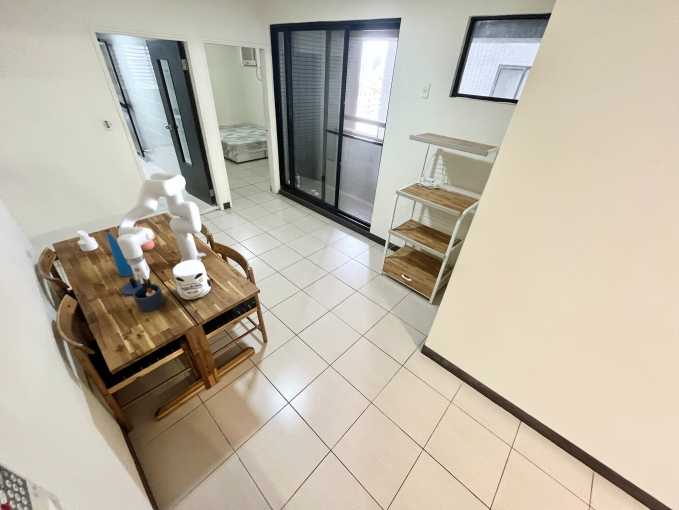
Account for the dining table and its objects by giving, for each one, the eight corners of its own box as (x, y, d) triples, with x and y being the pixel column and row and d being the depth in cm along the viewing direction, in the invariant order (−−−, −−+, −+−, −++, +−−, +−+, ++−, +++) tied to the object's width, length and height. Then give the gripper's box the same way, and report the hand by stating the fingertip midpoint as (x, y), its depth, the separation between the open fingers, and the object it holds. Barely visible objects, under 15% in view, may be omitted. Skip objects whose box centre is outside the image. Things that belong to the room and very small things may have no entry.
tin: (153, 294, 156) (147, 281, 151) (169, 299, 153) (164, 287, 148) (133, 308, 147) (127, 295, 141) (151, 314, 144) (145, 301, 139)
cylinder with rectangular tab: (100, 247, 191) (92, 232, 184) (85, 252, 185) (76, 237, 178) (94, 243, 195) (86, 228, 188) (79, 248, 188) (70, 233, 182)
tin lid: (137, 278, 166) (133, 270, 162) (154, 284, 163) (150, 275, 159) (116, 292, 156) (112, 283, 152) (134, 298, 153) (129, 289, 149)
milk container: (191, 307, 149) (182, 281, 139) (173, 294, 157) (163, 269, 147) (218, 289, 162) (212, 265, 152) (200, 279, 169) (192, 255, 159)
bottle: (126, 277, 166) (105, 234, 149) (117, 274, 168) (96, 231, 151) (137, 271, 172) (118, 228, 155) (128, 268, 174) (109, 225, 157)
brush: (153, 294, 151) (141, 267, 140) (159, 296, 150) (148, 269, 139) (146, 300, 147) (133, 272, 137) (152, 302, 146) (140, 274, 136)
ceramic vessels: (118, 237, 202) (107, 214, 192) (150, 228, 215) (142, 206, 205) (132, 257, 183) (121, 233, 172) (166, 246, 196) (158, 223, 185)
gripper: (142, 265, 129) (155, 294, 139) (145, 248, 141) (156, 276, 151) (123, 268, 126) (138, 298, 136) (127, 251, 138) (140, 279, 148)
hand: (147, 286), depth 144 cm, fingers closed on brush, 2 cm apart
